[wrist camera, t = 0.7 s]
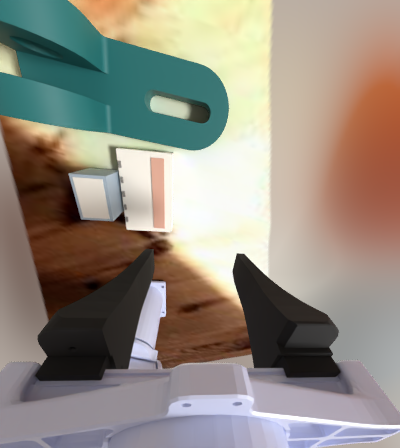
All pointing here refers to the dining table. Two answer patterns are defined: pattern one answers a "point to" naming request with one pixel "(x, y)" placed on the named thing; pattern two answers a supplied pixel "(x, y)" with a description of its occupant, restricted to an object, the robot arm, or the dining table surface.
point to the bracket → (101, 79)
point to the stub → (97, 193)
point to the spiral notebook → (146, 188)
